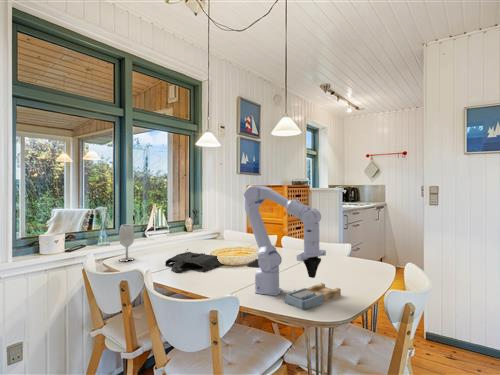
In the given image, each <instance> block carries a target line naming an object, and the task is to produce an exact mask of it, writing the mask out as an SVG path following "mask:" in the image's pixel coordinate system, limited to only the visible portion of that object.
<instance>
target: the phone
mask: <svg viewBox="0 0 500 375" xmlns="http://www.w3.org/2000/svg"><path fill="white" fill-rule="evenodd" d="M254 260H255V261H254ZM254 260H252V261H253V262H252V261H251V262H249V263H247V264H246V267H247V268H256V269H260V267H259V265H258V258H256V259H254Z"/></svg>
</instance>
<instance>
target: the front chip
mask: <svg viewBox="0 0 500 375" xmlns="http://www.w3.org/2000/svg"><path fill="white" fill-rule="evenodd" d="M292 297H295V298H297V299H300V300H303V301H304V300H307V299H308V295H306V294H303V293H300V292H299V293H296V294H293V295H292Z"/></svg>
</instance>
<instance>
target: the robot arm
mask: <svg viewBox="0 0 500 375" xmlns="http://www.w3.org/2000/svg"><path fill="white" fill-rule="evenodd" d="M243 195H244V209H245V213H246V214H245V215H246V216H247V219H248V223H249V224H250V228H251V230H252V233H253V236H254V238H255V242H256V244H257V248H258V252H257V253H256V255H257V259H258V265H259V267H260V268H256V271H255V276H254V278H255V280H254V281H255V282H254V284H255V286H254V288H255V290H254V293H255V294H262V295H268V296H269V295H270V296H278V295H279V294H280V293H281V292H282V290H283V288H282V287H280V265H281V264H282V262H283V261H282V259H283V258H282V255H281V254H280V253H279V252H278V250H277V248H276V247H275V246H274V245H273V244H272V242H271V240H270V237H269V234H268V231H267V228H266V226H265V223H264V221H263V217H262V215H261V212H260V207H261V205H262V204H263V203H264V201H265V200H270V201H272V202H274V203H277V204H278V205H280V206H282V207H284V208H285V210H286V212H287V213H288V214H290V215H291V216H293V217H295V218H297V219H298V220H300V221H301V222H302V224H303V252H301V253H299V254H296V261H298V262H303V264H304V266H305V268H306V271H307V274H308V275H307V276H308V277H309V278H311V279H314V278H316V275H317V271H318V268H319V267H320V266H319V265H320V263H321V261H322V258H321V257H322V256H327V251H326V250H325V249H320V221H321V219H322V214H321V212H320V211H319V210H318V209H316V208H311V205H306V204H304V203H303V202H301V200H299V199H288V198H286V197H285V196H284V195H282V194H281V193H279V192H278V191H275V190H274V189H272V188H271V187H268V186H266V185H264V184H263V185H262V184H260V185H254V184H253V185H252V184H251V185H249V186H247V187H246V189H245V190H244V193H243Z"/></svg>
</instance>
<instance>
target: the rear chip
mask: <svg viewBox="0 0 500 375" xmlns="http://www.w3.org/2000/svg"><path fill="white" fill-rule="evenodd" d="M300 293H303V294H306V295H308V299H309V298H312V297H315V293H314V292H312V291H309V290H305V291H302V292H300Z"/></svg>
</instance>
